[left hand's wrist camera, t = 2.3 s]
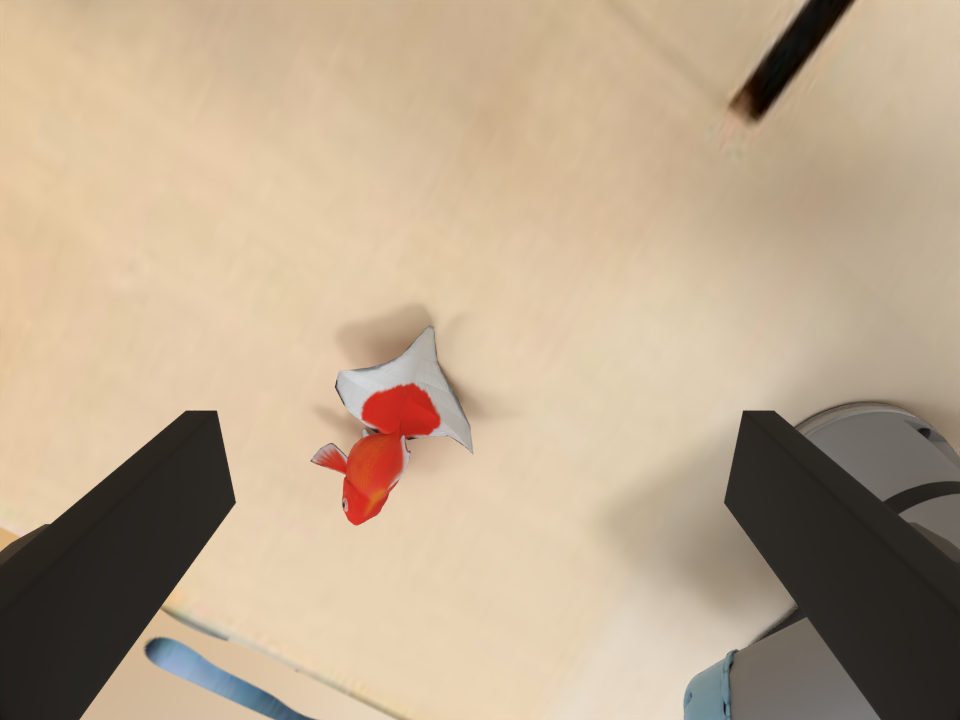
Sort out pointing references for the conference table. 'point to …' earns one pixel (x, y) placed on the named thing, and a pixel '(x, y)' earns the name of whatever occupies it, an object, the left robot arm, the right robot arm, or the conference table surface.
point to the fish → (392, 423)
